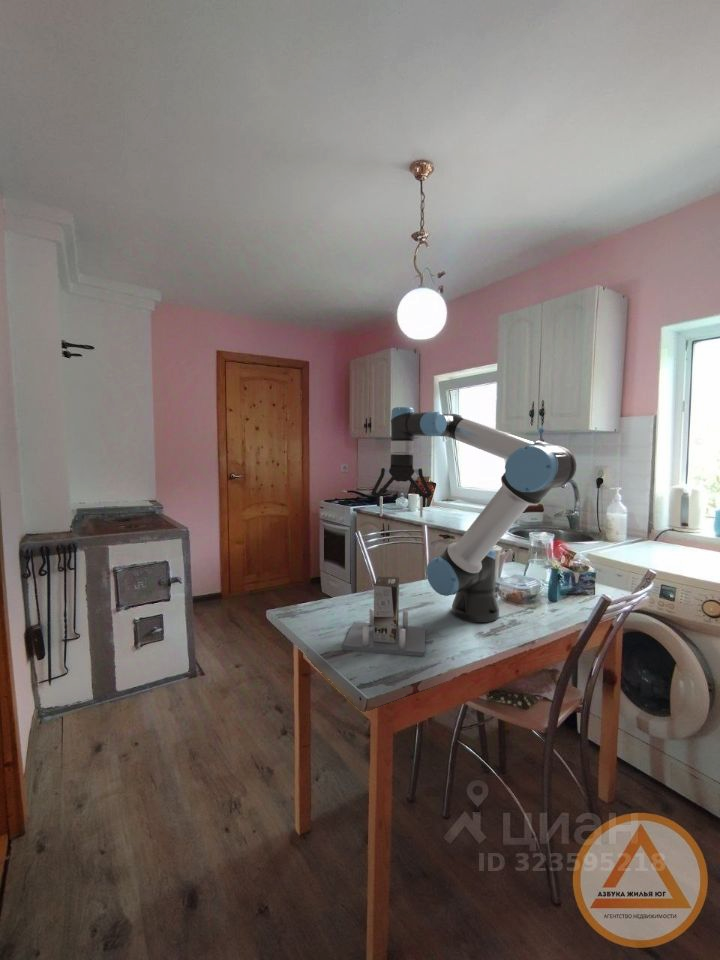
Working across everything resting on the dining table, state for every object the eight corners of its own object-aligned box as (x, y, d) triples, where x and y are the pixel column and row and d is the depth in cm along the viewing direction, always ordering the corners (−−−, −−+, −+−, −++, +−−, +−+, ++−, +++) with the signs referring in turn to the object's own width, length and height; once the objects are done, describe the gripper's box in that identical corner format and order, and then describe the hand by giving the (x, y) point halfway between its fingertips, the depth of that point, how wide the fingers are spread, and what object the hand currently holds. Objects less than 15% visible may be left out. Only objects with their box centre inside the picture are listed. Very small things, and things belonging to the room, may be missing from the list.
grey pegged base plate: (425, 631, 133) (425, 611, 132) (424, 656, 117) (424, 633, 117) (353, 625, 136) (353, 606, 136) (343, 649, 121) (343, 627, 120)
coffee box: (395, 644, 122) (396, 586, 120) (372, 641, 123) (373, 585, 121) (399, 630, 131) (399, 576, 129) (377, 628, 132) (378, 575, 130)
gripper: (438, 453, 151) (437, 515, 153) (366, 453, 154) (365, 513, 156) (440, 454, 144) (438, 519, 145) (363, 453, 146) (363, 517, 148)
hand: (400, 516), depth 151 cm, fingers open, 13 cm apart
